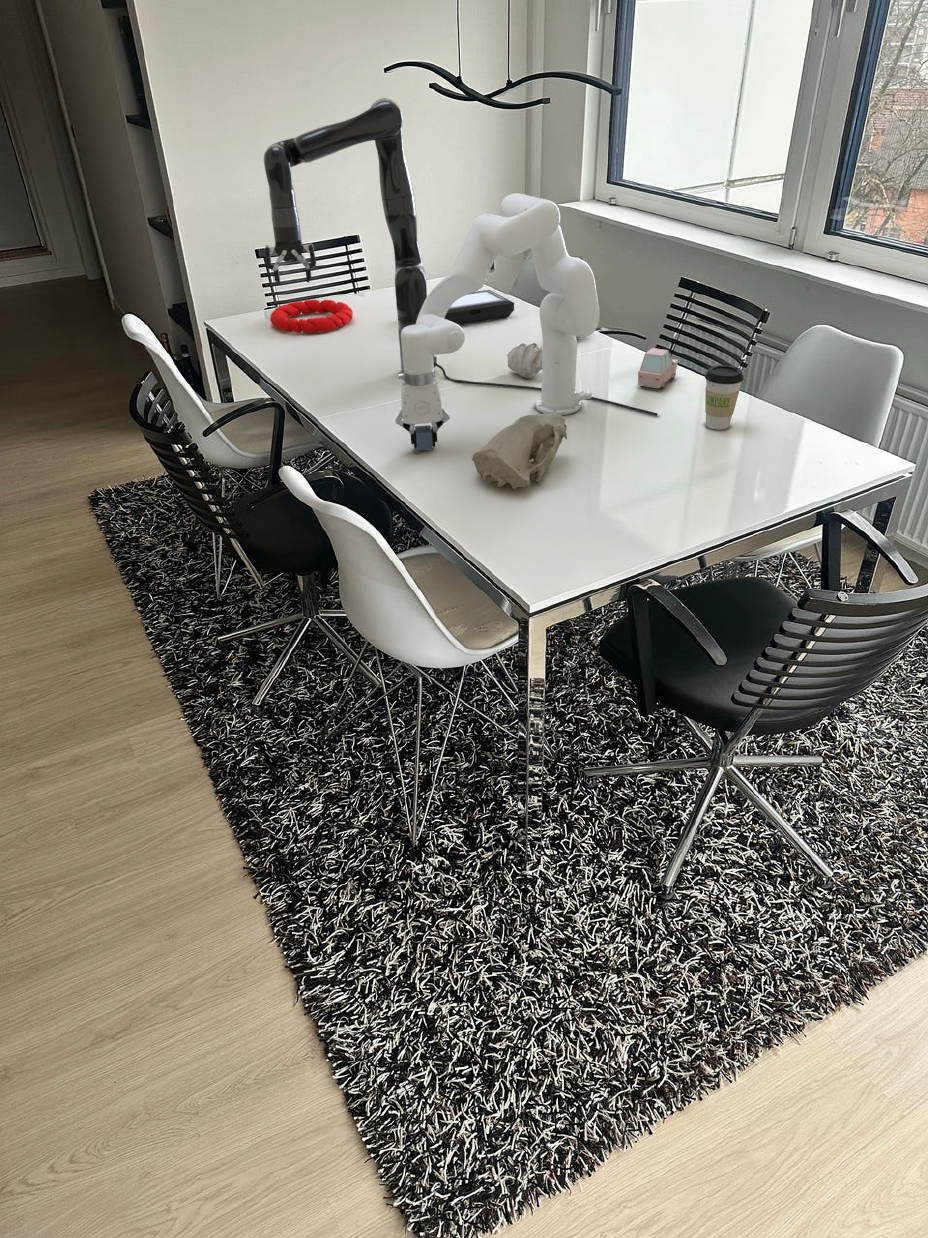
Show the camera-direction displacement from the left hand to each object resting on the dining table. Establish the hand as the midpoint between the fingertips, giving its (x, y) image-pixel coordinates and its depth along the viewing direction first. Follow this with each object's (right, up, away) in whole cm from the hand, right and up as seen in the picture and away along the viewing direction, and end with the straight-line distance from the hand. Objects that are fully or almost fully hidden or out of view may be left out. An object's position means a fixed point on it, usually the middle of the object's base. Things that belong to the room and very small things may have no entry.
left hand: (293, 282), depth 262 cm
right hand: (+40, -54, -30) cm, 73 cm away
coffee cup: (+118, -47, -22) cm, 129 cm away
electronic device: (+50, +12, +67) cm, 85 cm away
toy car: (+108, -28, +6) cm, 112 cm away
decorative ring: (-6, +10, +67) cm, 68 cm away
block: (+40, -54, -30) cm, 74 cm away
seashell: (+70, -24, +14) cm, 75 cm away
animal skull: (+66, -63, -43) cm, 101 cm away
